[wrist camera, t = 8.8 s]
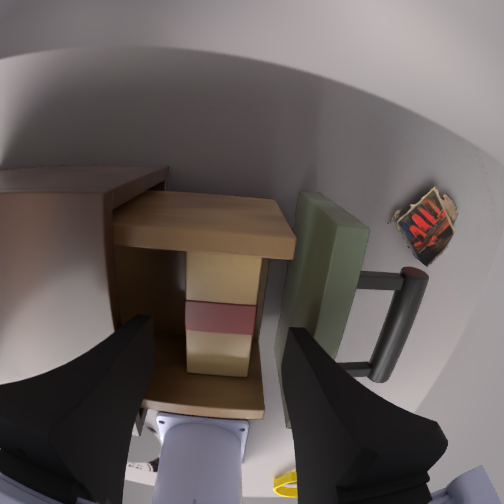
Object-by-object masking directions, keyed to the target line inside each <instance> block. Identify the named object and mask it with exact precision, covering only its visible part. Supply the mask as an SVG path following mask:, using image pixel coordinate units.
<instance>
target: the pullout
mask: <svg viewBox="0 0 504 504" xmlns="http://www.w3.org/2000/svg"><path fill="white" fill-rule="evenodd" d="M112 223H113V244H114V260H115V272H116V283H117V292H118V301H119V309H120V317H121V324H122V326H123V325H124V324H125V323H126V322H128V321H129V320H130V319H131V318H133V317H134V316H135V315H137V314H143V315H151V316H152V319H153V331H154V342H155V352H156V358H155V363H154V367H153V371H152V376H151V379H150V382H149V384H148V387H147V390H146V393H145V395H144V398H143V401H142V404H141V406H140V408H146V409H152V410H158V411H165V412H172V413H179V414H188V415H197V416H208V417H220V418H237V419H263V416H264V412H265V405H264V395H263V384H262V373H261V362H260V351H259V342H258V341H259V334H260V327H261V320H262V313H263V306H264V298H265V291H266V284H267V276H268V269H269V261H270V258H274V259H287V260H289V263H288V269H287V275H286V281H285V288H284V294H283V300H282V305H281V311H280V317H279V323H278V328H277V334H276V340H275V345H274V351H275V357H276V364H277V370H278V377H279V383H280V390H281V396H282V403H283V410H284V416H285V423H286V428H287V429H291V424H290V420H289V415H288V411H287V406H286V402H285V397H284V393H283V388H282V376H281V363H282V358H283V353H284V349H285V344H286V339H287V334H288V329H289V327H304V328H305V329H306V330H307V331H308V332H309V333H310V334H311V336H312V337H313V338H314V339H315V340H316V341H317V342H318V343H319V345H320V346H321V347H322V348H323V349H324V350H325V351H326V352H327V353H328V354H329V355H330V356H331V358H332V359H333V360H334V361H335V358H336V355H337V352H338V349H339V346H340V342H341V339H342V336H343V333H344V330H345V326H346V323H347V320H348V316H349V313H350V309H351V306H352V302H353V298H354V295H355V291H356V289H375V290H395V291H394V294H393V297H392V301H391V304H390V307H389V310H388V313H387V316H386V318H385V321H384V324H383V327H382V330H381V332H380V335H379V338H378V340H377V343H376V346H375V348H374V351H373V353H372V356H371V358H370V361H369V362H345V363H338V364H339V365H340V366H341V367H342V368H343V369H344V370H345V371H346V372H347V373H348V374H350V375H351V376H352V377H366V376H367V377H368V378H369V379H370V380H371V381H373V382H376V383H384V382H386V381H387V380H388V379H389V377H390V375H391V373H392V371H393V369H394V367H395V365H396V363H397V360H398V358H399V356H400V354H401V351H402V349H403V347H404V344H405V342H406V340H407V337H408V335H409V332H410V330H411V327H412V325H413V322H414V320H415V317H416V315H417V312H418V309H419V306H420V304H421V301H422V298H423V295H424V292H425V289H426V286H427V283H428V280H429V276H428V274H426V273H425V272H424V271H422V270H420V269H417V268H414V267H403V268H402V269H401V271H400V274H399V273H388V272H373V271H361V268H362V263H363V259H364V255H365V251H366V246H367V242H368V237H369V232H370V228H369V227H367V226H366V225H365V224H363V223H362V222H360V221H359V220H358V219H356V218H355V217H354V216H352V215H351V214H350V213H348V212H347V211H345V210H344V209H343V208H341V207H340V206H338V205H337V204H336V203H334V202H333V201H331V200H330V199H328V198H327V197H325V196H324V195H323V194H321V193H319V192H311V191H303V190H299V194H298V202H297V209H296V216H295V223H294V230H293V231H292V229H291V227H290V225H289V224H288V222H287V220H286V218H285V217H284V215H283V213H282V211H281V210H280V208H279V206H278V204H277V202H276V201H275V200H274V199H264V198H253V197H242V196H230V195H218V194H204V193H189V192H172V191H153V190H146V191H144V192H142V193H140V194H139V195H137V196H135V197H133V198H132V199H130V200H128V201H127V202H125V203H123V204H122V205H120V206H118V207H117V208H115V209H113V210H112ZM186 251H188V252H200V253H212V254H225V255H237V256H249V257H262V265H261V273H260V281H259V289H258V297H257V305H258V308H257V315H256V323H255V331H254V334H253V337H252V344H251V352H250V360H249V367H248V375H247V377H236V376H221V375H209V374H198V373H188V372H187V359H186V329H185V327H184V299H185V285H186Z"/></svg>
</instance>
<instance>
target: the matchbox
mask: <svg viewBox="0 0 504 504" xmlns="http://www.w3.org/2000/svg"><path fill="white" fill-rule="evenodd" d="M443 198H445V200H442V199H441V198H440V197H439V192H438V191H437V189H436V187H434V188H433V189H430V192H428V193H427V195H425V196H424V197H422V198H421V200H420V201H419V202H418V203H417V204H414V205H413V204H410V206H411V209H410V210H409V211H408V212H407V213H406V214H405V215H403V216H402V217H400V218H399V220H398V221H397V223H396V224H397V228H398V231H399V232H401V234H402V235H403V239H404V240H405V241H406V242H407V244H408V245H409V248H410V247H411V250H412V252H413V255H414V256H415V258H417V259H418V260H419V261H420V262H422V263H423V264H424V265H425V266H426V267H428V265H429V264H432V262H433V261H434V260H435V259H436V258H438V256H439V255H441V254H442V252H443V251H444V250H445V248H446V247H447V245H448V243H449V241H450V240H451V238H452V236H453V234H454V233H455V230H454V228H453V225H452V222H451V220H450V218H451V219H452V220H453V223H454V222H455V220H456V217H457V215H458V212H456V211H455V209H457V207H456V205H455V204H454V203H453V201H452V200H451V199H450V198H449V197H448V196H447V195H445V194H444V196H443ZM401 211H402V209H401V210H396V211H395V214H393V216H392V218H391V221H392V220H395V219H397V218H398V217H399V214H400V212H401ZM447 212H448V213H447ZM448 214H449V216H448ZM389 221H390V220H389ZM391 221H390V222H388V224H389V223H391ZM407 247H408V246H407ZM447 248H448V247H447Z"/></svg>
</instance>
